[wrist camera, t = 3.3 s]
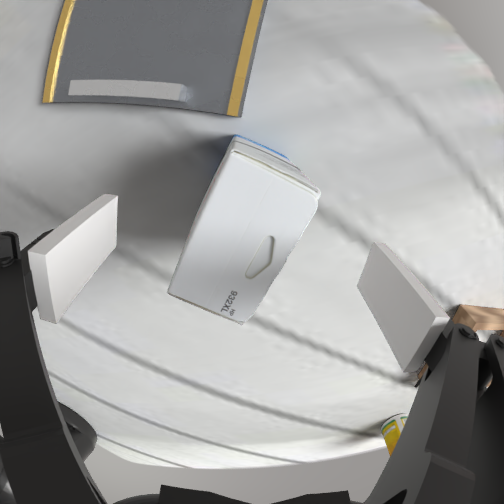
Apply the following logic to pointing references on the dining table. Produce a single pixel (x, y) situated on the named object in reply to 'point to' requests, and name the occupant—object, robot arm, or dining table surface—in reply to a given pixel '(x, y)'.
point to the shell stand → (477, 321)
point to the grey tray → (155, 53)
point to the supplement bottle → (393, 430)
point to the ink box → (243, 231)
